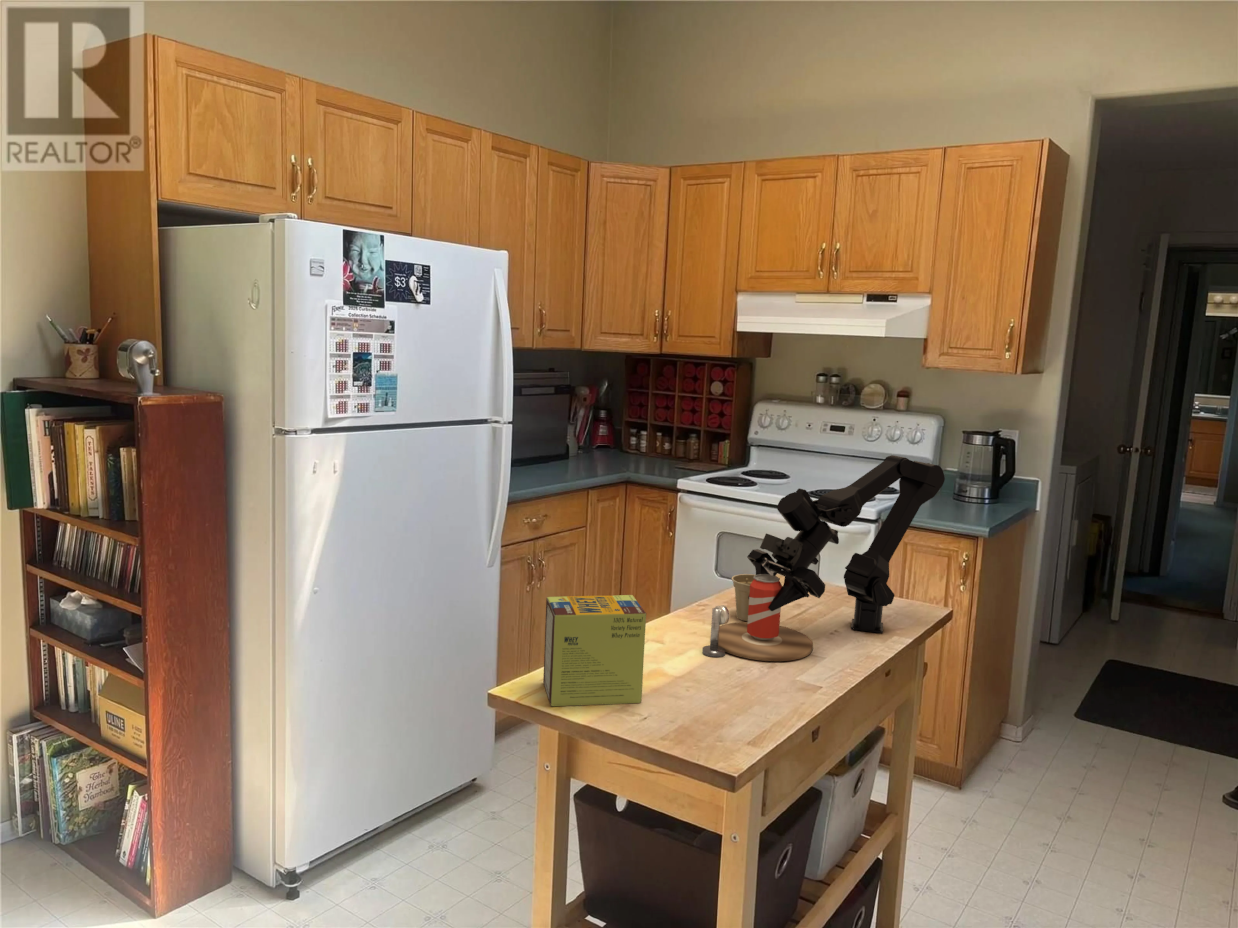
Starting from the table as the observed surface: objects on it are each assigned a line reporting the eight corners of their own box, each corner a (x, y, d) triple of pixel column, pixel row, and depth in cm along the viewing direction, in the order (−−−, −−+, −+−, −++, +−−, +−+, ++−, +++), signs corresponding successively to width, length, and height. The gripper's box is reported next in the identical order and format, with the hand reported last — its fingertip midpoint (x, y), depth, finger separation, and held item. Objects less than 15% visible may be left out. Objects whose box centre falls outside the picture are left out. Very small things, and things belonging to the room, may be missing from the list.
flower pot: (741, 608, 203) (744, 571, 202) (780, 617, 198) (783, 579, 196) (721, 618, 195) (723, 579, 194) (760, 628, 190) (763, 588, 189)
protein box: (642, 703, 149) (647, 612, 147) (550, 707, 146) (553, 614, 143) (628, 679, 159) (633, 593, 157) (541, 682, 156) (545, 595, 153)
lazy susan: (720, 621, 192) (720, 616, 192) (816, 634, 187) (816, 629, 187) (702, 651, 173) (702, 647, 173) (808, 667, 168) (808, 662, 168)
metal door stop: (710, 658, 171) (713, 611, 169) (697, 650, 175) (700, 604, 173) (729, 655, 173) (733, 608, 171) (716, 647, 177) (719, 602, 175)
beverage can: (755, 628, 184) (759, 571, 182) (784, 635, 181) (788, 577, 179) (741, 636, 179) (745, 577, 177) (770, 643, 176) (774, 584, 174)
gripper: (757, 510, 186) (710, 567, 183) (818, 530, 170) (767, 593, 167) (785, 544, 191) (739, 600, 188) (846, 566, 175) (798, 628, 172)
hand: (759, 604), depth 178 cm, fingers closed on beverage can, 6 cm apart
